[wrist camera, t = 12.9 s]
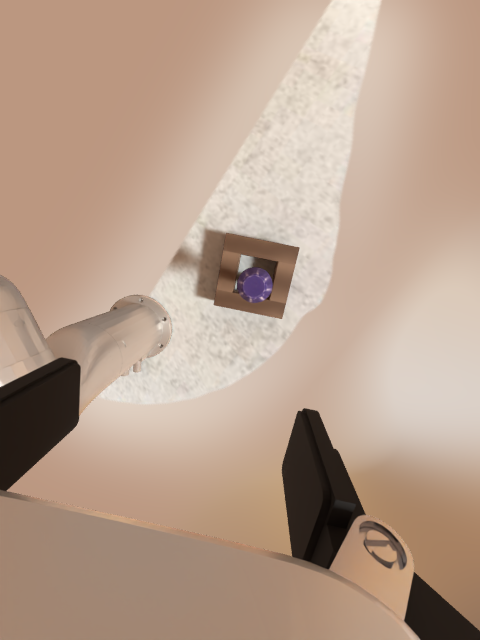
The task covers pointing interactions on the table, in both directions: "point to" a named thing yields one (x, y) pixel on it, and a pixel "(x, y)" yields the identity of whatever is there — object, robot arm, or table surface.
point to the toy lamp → (254, 285)
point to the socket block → (258, 249)
